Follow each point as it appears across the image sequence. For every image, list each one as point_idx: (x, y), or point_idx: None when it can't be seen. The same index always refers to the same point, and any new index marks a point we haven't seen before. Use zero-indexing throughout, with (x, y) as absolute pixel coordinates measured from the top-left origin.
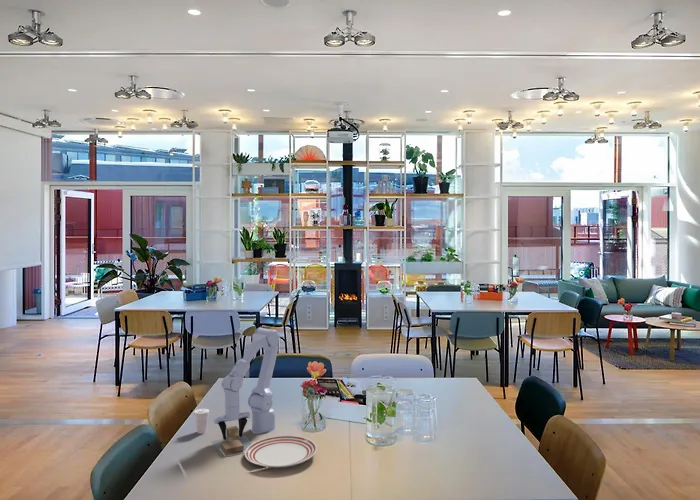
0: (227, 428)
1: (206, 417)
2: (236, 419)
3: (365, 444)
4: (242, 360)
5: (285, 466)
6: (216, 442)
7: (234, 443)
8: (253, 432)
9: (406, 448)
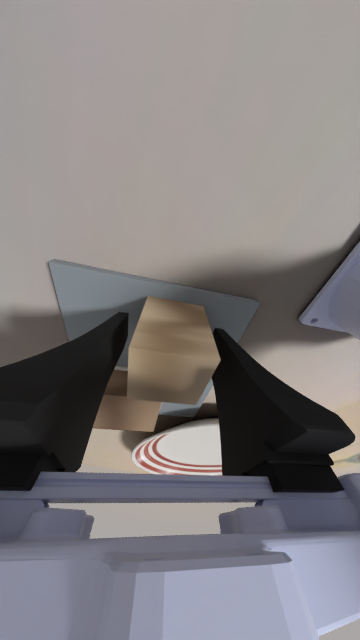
0: (130, 369)
1: None
2: (209, 484)
3: (347, 455)
4: None
5: (180, 474)
6: (81, 299)
7: (131, 415)
8: (316, 305)
9: (349, 469)
